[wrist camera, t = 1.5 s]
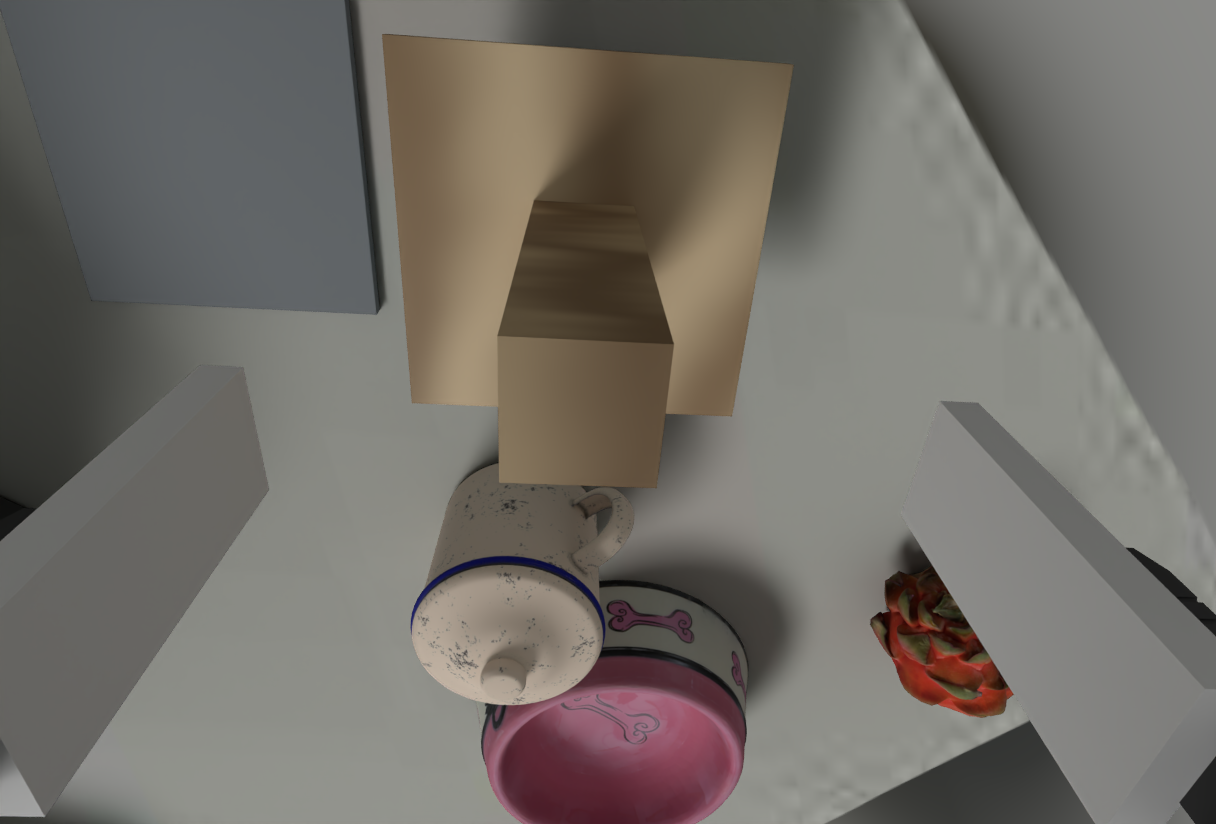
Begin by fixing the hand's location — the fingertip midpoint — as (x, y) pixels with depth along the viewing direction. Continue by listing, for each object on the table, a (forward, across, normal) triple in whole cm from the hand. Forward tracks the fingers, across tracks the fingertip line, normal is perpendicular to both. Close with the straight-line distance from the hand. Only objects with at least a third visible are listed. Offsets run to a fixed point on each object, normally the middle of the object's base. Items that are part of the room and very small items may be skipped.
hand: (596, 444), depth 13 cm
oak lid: (+14, 0, 0) cm, 14 cm away
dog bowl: (+21, +3, -32) cm, 38 cm away
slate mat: (+20, -16, +1) cm, 26 cm away
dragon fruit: (+21, +23, -23) cm, 39 cm away
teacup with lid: (+21, -2, -17) cm, 27 cm away
